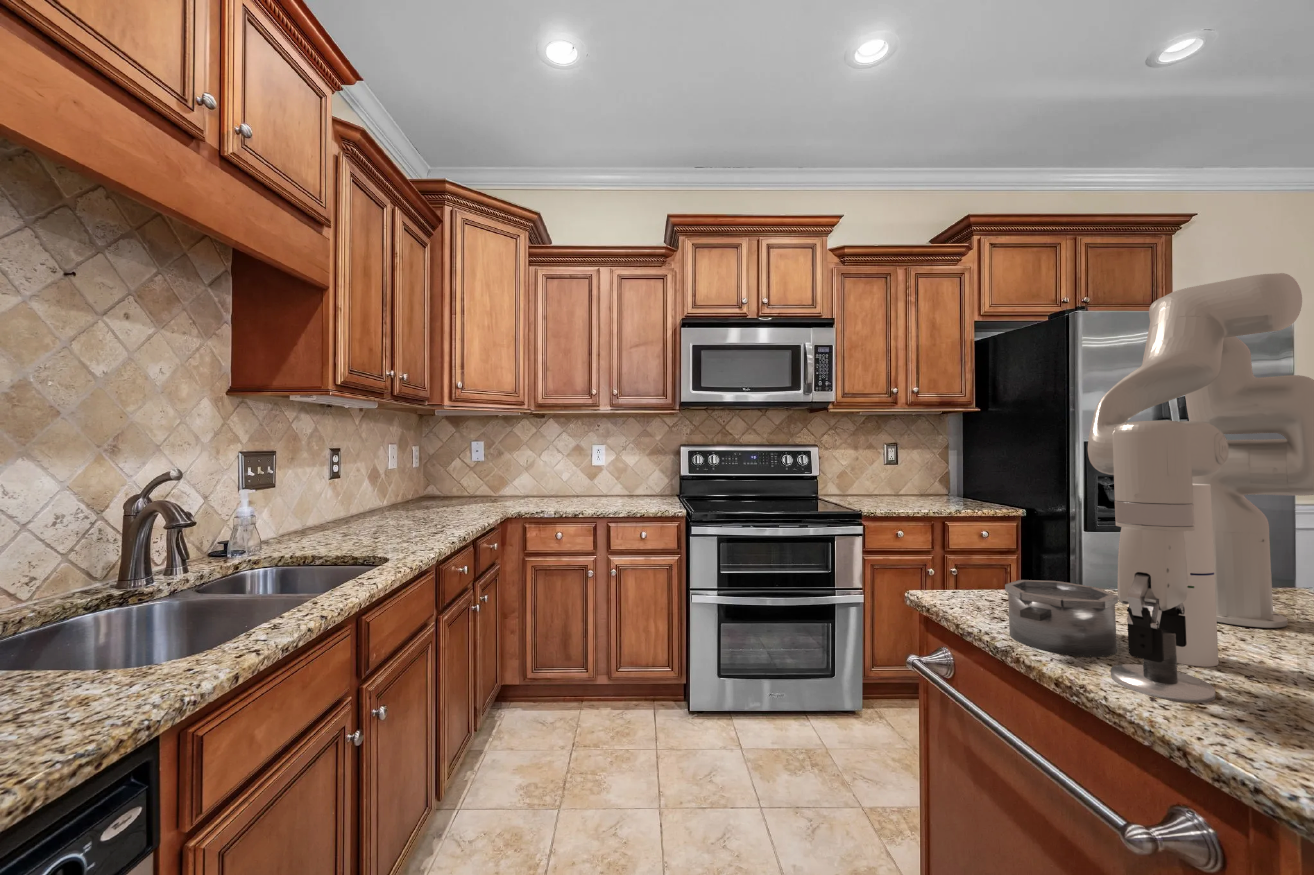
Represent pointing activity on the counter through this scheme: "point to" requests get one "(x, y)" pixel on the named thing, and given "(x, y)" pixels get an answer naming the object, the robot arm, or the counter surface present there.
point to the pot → (1062, 617)
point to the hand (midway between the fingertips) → (1158, 651)
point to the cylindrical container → (1200, 586)
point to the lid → (1163, 677)
